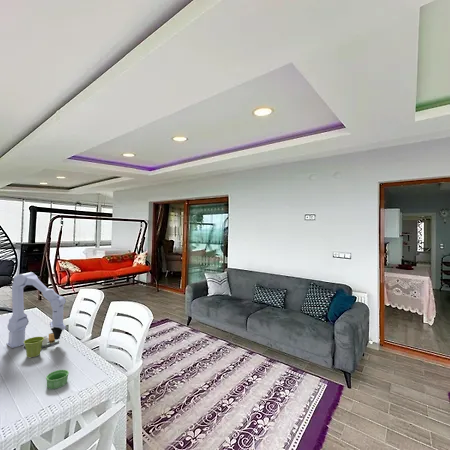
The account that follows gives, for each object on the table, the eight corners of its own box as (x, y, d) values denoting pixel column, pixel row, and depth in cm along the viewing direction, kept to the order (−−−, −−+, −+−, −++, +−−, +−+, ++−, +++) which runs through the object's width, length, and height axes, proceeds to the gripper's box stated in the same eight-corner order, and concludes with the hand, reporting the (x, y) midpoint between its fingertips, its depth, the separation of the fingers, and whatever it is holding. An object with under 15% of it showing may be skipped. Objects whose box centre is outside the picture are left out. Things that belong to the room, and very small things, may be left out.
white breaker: (40, 344, 160) (41, 336, 160) (45, 342, 162) (45, 335, 162) (42, 345, 158) (43, 337, 158) (47, 343, 160) (47, 336, 160)
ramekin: (57, 391, 117) (58, 381, 117) (40, 388, 119) (41, 378, 119) (72, 379, 126) (73, 370, 126) (56, 377, 128) (56, 368, 128)
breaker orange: (48, 340, 165) (48, 333, 165) (53, 338, 167) (53, 331, 168) (50, 341, 164) (50, 334, 164) (54, 339, 166) (55, 332, 166)
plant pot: (32, 360, 143) (33, 344, 143) (18, 358, 145) (19, 342, 145) (47, 352, 152) (48, 337, 152) (34, 350, 154) (34, 335, 154)
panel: (23, 347, 158) (23, 344, 158) (51, 338, 171) (51, 336, 171) (30, 352, 152) (30, 348, 152) (59, 342, 165) (59, 339, 165)
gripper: (44, 316, 162) (43, 338, 162) (57, 321, 155) (56, 344, 155) (56, 313, 168) (55, 334, 168) (69, 317, 161) (68, 340, 161)
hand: (57, 339), depth 162 cm, fingers closed
